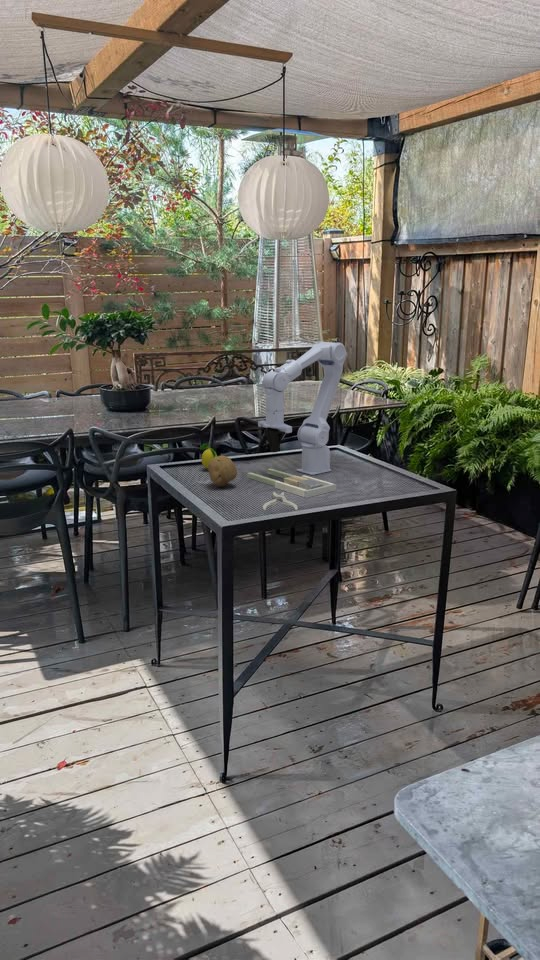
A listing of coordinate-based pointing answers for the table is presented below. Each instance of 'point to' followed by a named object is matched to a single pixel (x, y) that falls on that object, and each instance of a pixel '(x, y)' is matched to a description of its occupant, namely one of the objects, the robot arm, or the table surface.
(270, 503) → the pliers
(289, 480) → the ash block
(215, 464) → the brown potato
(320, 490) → the tray
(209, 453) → the lemon
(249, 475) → the slot rails
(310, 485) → the aluminium block
